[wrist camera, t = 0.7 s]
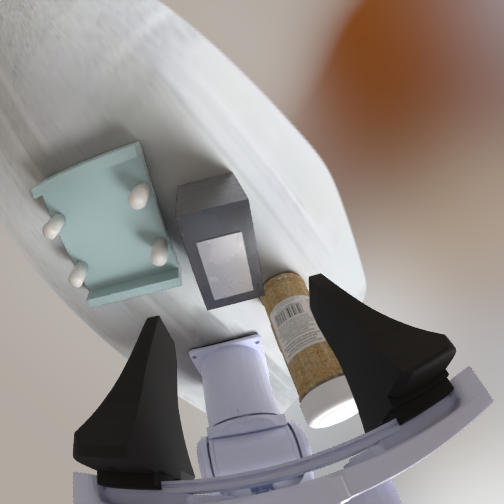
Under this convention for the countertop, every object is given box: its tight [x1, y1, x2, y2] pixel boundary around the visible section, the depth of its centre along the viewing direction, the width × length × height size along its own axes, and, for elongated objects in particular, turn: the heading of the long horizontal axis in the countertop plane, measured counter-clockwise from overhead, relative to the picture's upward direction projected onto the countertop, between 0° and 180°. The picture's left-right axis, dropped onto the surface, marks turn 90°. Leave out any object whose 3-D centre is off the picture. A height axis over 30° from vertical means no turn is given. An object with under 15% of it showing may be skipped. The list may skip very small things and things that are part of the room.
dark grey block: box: [175, 173, 265, 310], centre depth 18 cm, size 7×4×6 cm, turn 9°
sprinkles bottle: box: [260, 273, 358, 428], centre depth 20 cm, size 5×5×14 cm
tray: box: [31, 141, 182, 307], centre depth 17 cm, size 11×8×3 cm
